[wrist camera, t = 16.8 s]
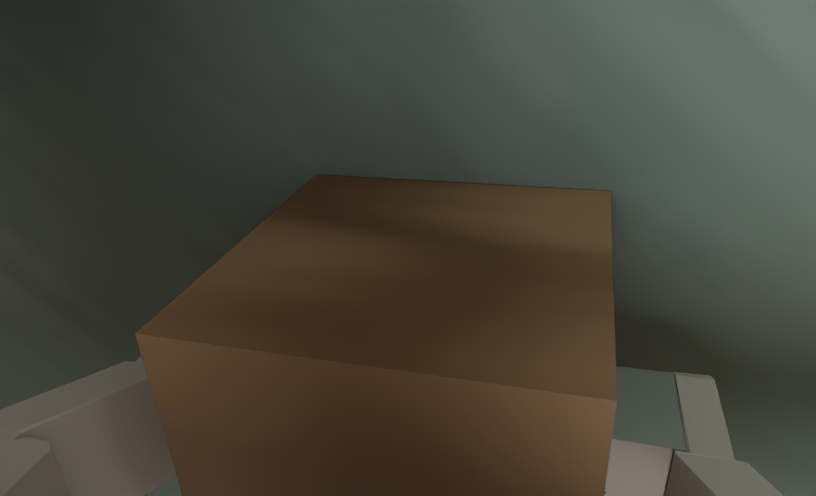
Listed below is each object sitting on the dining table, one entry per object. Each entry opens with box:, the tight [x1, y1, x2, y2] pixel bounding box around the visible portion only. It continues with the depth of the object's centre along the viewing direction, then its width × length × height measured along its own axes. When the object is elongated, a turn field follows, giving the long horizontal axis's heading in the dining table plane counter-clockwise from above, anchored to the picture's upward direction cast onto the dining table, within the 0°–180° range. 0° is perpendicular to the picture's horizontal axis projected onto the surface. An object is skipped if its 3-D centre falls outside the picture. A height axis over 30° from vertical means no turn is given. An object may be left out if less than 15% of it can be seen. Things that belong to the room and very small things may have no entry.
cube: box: [135, 175, 617, 496], centre depth 9 cm, size 5×5×5 cm
